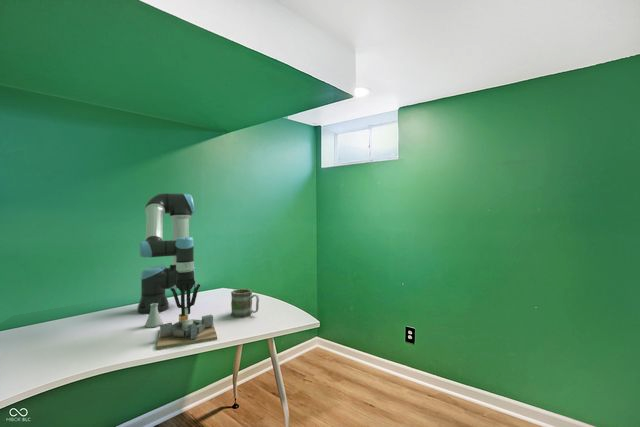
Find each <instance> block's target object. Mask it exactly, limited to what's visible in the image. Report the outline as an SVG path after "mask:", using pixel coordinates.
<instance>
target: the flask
mask: <svg viewBox="0 0 640 427" xmlns="http://www.w3.org/2000/svg"><path fill="white" fill-rule="evenodd" d="M157 305H158V303H153V304H150V306H151V310H150V313H149V314H148V318H147V319H146V322H145V324H144V327H145V328H148V329H149V328H157V327H160V325H162V324H164V322H163V320H162V318H161V315H160V312H158V308H157Z"/></svg>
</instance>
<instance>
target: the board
mask: <svg viewBox="0 0 640 427" xmlns="http://www.w3.org/2000/svg"><path fill="white" fill-rule="evenodd" d="M193 320H194V319H193ZM193 320H191V319H188V320H184V321H182V328H181V329H188V325H191V324H193ZM158 333H159V334H158V340H157V344H156V347H157V348H156V349H157V351H158V350H164V349H169V348H174V347H176V348H177V347H182V346H188V345H192V344H193V345H194V344H198V343H204V342H211V341H216V340H218V335H217V331H216V328H215V325H214V324H213V326H211V327H206V328H205V329H204V330H203V331H201V332H200V333H198V334H197V338H194V339H190V337H189V336H187V337H176V336H172V335H171V336H166V337H162V338H161V336H160V331H159V332H158Z"/></svg>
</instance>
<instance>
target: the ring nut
mask: <svg viewBox="0 0 640 427" xmlns="http://www.w3.org/2000/svg"><path fill="white" fill-rule="evenodd" d="M184 320H187V315H182V314H181V313H179V314H178V321H177V322H175V323H174V324H173V323H172V322H167V323H163V324H162V325H160V326H159V332H160V336H161V338H162V337H166V336H171V335H172V336H176V337H187V336H189V337H190V339H194V338H197V334H198V333H200V332H201V331H203V330H204V329H205V328H206V327H211V326H213V325H214V315H213V314H207V315H202V316H201V319H190V320H193V324H191V325H188V329H181V328H182V321H184Z"/></svg>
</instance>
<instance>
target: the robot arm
mask: <svg viewBox="0 0 640 427" xmlns="http://www.w3.org/2000/svg"><path fill="white" fill-rule="evenodd" d="M144 213H145V215H146V219H145V220H146V222H145V224H146V226H145V238H144V241H140V243H139V255H140V257H141V258H157V257H158V258H159V257H172V262H170V263H169V267H166V265H162V264H161V265H155V266H150V267H147V268H144V269H143V270H142V271H141V277H140V280H141V284H140V285H141V286H140V287H141V288H140V293H141V295H140V300H139V303H138V305H137V313H139V314H148V315H149V314H150V310H151V306H150V304H153V303H158V305H157V308H158V312H159V313H161V312H163V311H164V312H165V311H167V310H168V309H169V308H170V303H169V300H168V298H167V294H166V290H170V291H171V292H172V295H173V298H174V301H175V305H176V308H178V309H180V310H181V311H180V312H181V313H180V314H182V315H187V320H189V315H190V314H191V307H192V306H195V303H196V299H197V295H198V291H199V289H200V288H201V284H200V283H197V282H196V280H195V270H196V268H195V263H194V262H195V259H194V256H195V255H194V252H195V251H194V250H195V249H194V247H195V244H194V237H192V236H190V219H191V218H192V215H194V214H195V204H194V199H193V196H192V195H191V194H189V193H167V192H166V193H165V192H163V193H158V194H156V195H154V196H152V197H151V198H150V199H149V200H148V201H147V202H146V204H145V207H144ZM165 214H168V215H169V218H171V219H172V240H164V231H163V230H164V218H163V217H164V215H165ZM192 288H193V291H192ZM177 289H178V290H177ZM177 291H180V292H179V293H180V299H179V296H178V293H177ZM191 291H192V296H191ZM185 295H186V296H185Z"/></svg>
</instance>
